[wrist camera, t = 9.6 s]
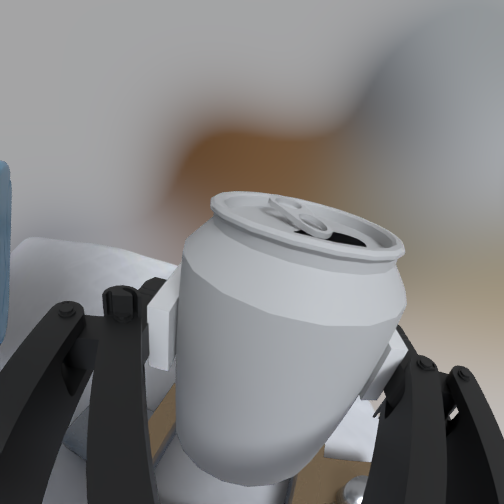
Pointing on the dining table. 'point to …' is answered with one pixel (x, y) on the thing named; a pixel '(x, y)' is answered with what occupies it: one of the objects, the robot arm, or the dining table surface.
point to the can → (278, 331)
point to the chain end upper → (304, 482)
